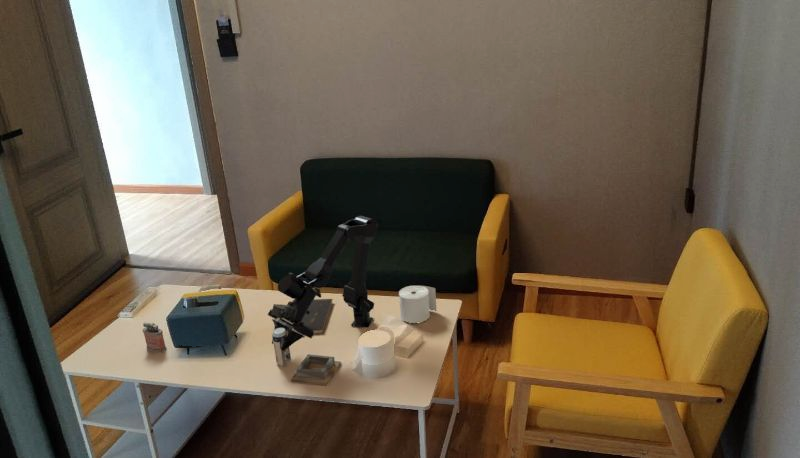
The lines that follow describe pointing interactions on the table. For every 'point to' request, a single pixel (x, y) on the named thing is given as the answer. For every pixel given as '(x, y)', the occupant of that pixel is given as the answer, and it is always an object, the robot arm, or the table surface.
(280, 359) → the beer can
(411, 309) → the toilet tissue
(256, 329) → the table surface
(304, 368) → the socket board
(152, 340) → the lighter
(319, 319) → the hardcover book
